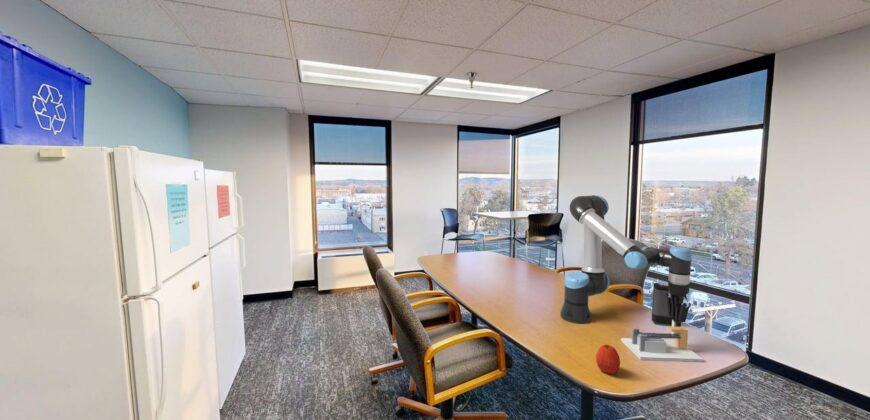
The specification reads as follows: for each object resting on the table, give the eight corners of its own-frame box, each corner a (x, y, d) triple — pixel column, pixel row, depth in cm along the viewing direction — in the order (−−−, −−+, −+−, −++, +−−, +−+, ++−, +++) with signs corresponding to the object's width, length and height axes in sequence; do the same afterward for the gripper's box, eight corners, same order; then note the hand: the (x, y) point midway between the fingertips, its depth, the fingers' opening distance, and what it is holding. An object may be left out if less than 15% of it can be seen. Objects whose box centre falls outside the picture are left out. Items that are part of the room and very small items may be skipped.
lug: (670, 348, 139) (672, 329, 138) (666, 344, 142) (667, 326, 141) (686, 348, 138) (688, 330, 137) (682, 345, 141) (683, 326, 140)
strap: (640, 339, 137) (641, 336, 137) (635, 334, 141) (635, 331, 141) (682, 340, 136) (682, 337, 136) (675, 335, 140) (675, 332, 140)
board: (640, 359, 132) (641, 341, 131) (621, 340, 148) (621, 323, 147) (702, 362, 130) (704, 343, 130) (676, 342, 146) (677, 325, 145)
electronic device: (671, 322, 167) (674, 284, 165) (675, 327, 161) (678, 287, 159) (650, 319, 170) (652, 282, 168) (654, 324, 164) (656, 286, 162)
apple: (596, 374, 122) (597, 347, 121) (594, 363, 130) (595, 337, 129) (621, 379, 119) (622, 351, 118) (617, 367, 127) (618, 341, 126)
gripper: (699, 287, 134) (695, 342, 136) (677, 278, 147) (674, 328, 149) (679, 287, 135) (676, 341, 137) (660, 278, 148) (657, 327, 150)
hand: (675, 334), depth 143 cm, fingers closed
